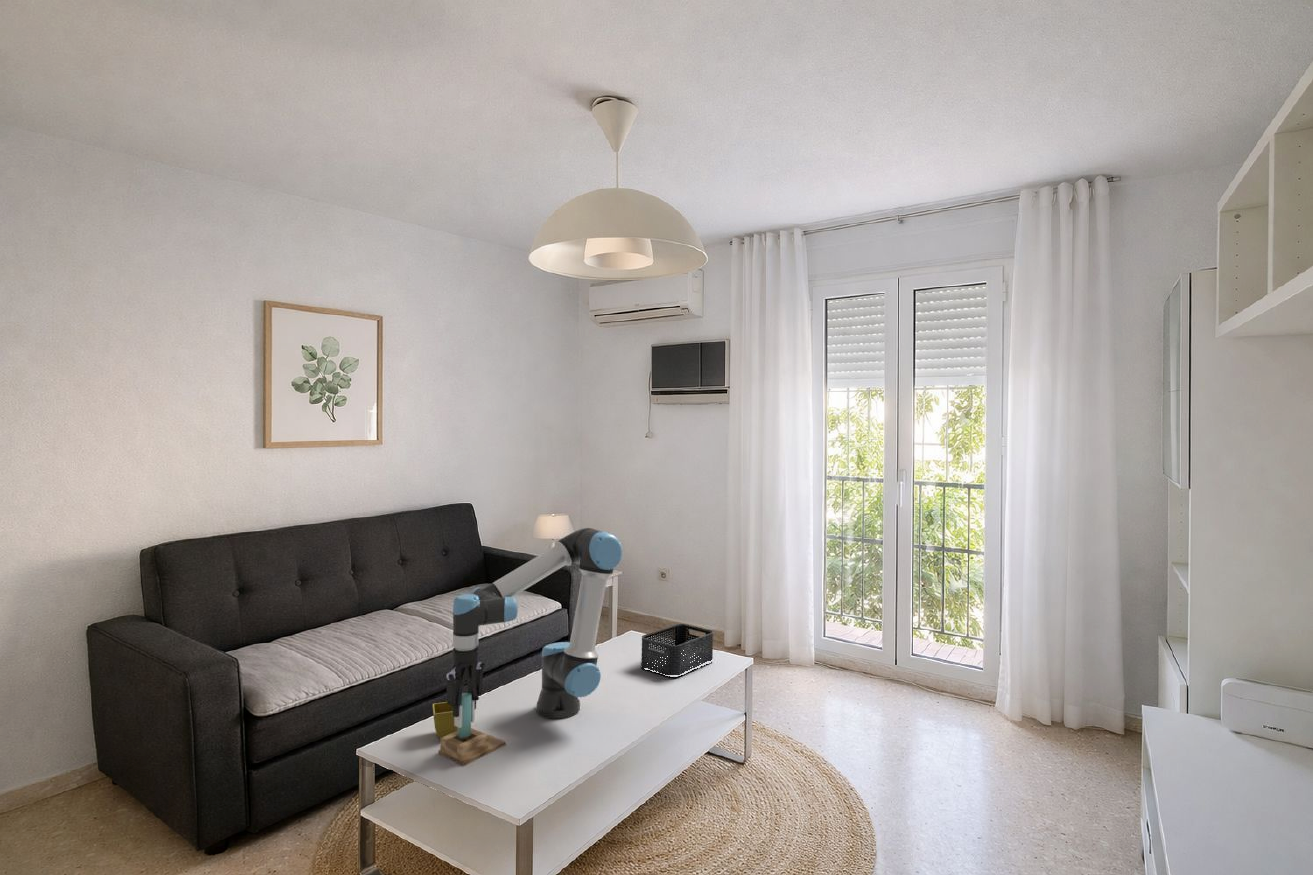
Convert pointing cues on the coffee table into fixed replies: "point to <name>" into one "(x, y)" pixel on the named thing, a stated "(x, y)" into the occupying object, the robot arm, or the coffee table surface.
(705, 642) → the storage bin
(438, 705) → the flower pot
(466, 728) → the peg
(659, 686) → the coffee table surface
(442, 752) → the socket board
